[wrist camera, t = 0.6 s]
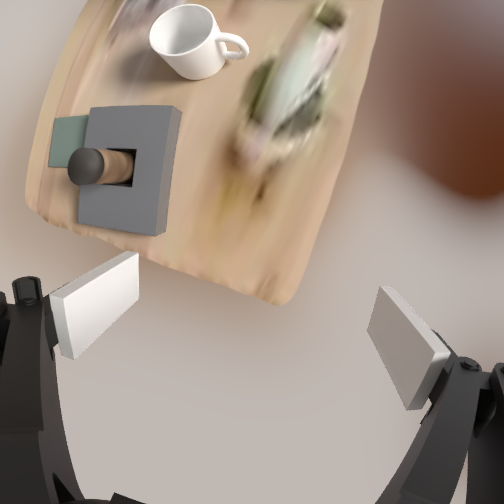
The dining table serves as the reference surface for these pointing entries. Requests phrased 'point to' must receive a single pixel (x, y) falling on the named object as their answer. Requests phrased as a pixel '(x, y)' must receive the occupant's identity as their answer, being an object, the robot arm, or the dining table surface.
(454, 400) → the robot arm
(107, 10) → the dining table surface
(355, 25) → the dining table surface
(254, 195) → the dining table surface
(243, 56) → the cup
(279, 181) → the dining table surface
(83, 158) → the plug
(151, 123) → the socket block
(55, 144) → the mat
